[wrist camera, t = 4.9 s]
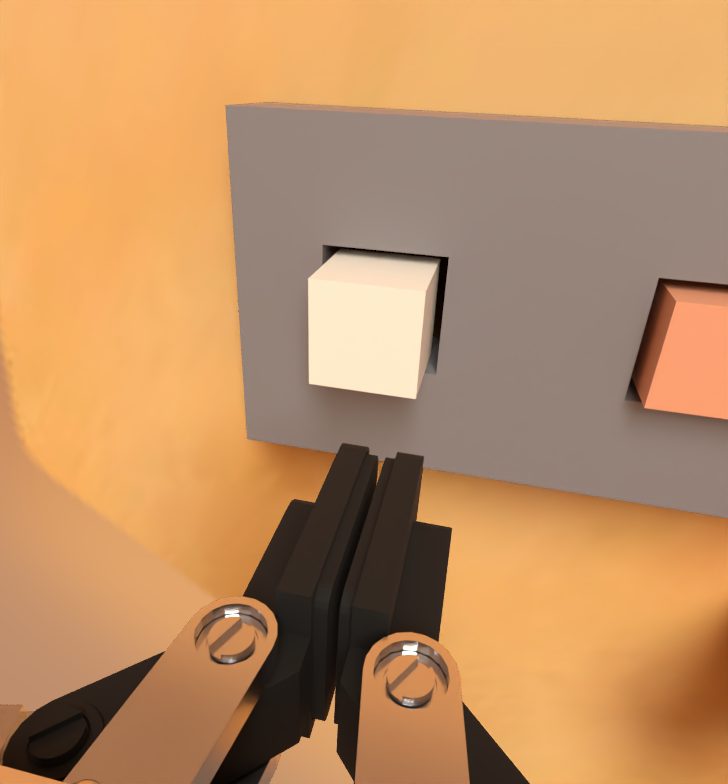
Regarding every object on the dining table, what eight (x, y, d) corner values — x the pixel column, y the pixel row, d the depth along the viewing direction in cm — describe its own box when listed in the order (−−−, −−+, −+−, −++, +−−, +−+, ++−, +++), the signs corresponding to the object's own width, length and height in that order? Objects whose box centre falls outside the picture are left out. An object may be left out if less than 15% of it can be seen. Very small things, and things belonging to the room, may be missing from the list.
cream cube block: (431, 352, 25) (415, 398, 21) (338, 340, 25) (308, 383, 22) (440, 258, 23) (425, 291, 19) (340, 248, 23) (307, 278, 20)
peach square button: (728, 373, 24) (766, 424, 20) (625, 360, 25) (644, 407, 21) (764, 277, 22) (813, 315, 18) (650, 267, 23) (676, 301, 19)
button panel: (781, 475, 26) (821, 533, 23) (277, 399, 31) (247, 438, 27) (936, 137, 20) (1024, 148, 16) (267, 102, 24) (225, 105, 21)
